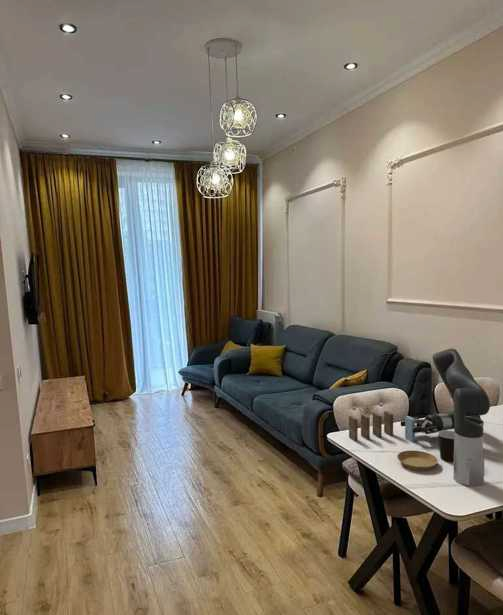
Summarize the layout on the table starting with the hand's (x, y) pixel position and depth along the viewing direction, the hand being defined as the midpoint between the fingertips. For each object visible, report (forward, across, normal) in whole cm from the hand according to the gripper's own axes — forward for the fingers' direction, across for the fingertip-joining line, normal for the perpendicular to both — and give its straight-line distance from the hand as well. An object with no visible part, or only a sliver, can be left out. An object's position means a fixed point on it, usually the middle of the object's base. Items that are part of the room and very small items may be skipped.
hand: (406, 427), depth 196 cm
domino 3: (+9, +9, -6) cm, 14 cm away
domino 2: (+15, +9, -6) cm, 19 cm away
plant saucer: (+10, -21, -6) cm, 24 cm away
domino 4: (+3, +9, -6) cm, 11 cm away
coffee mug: (-6, -21, -6) cm, 23 cm away
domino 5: (-2, 0, -6) cm, 6 cm away
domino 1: (+21, +9, -6) cm, 24 cm away
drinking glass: (-19, -16, -6) cm, 26 cm away
